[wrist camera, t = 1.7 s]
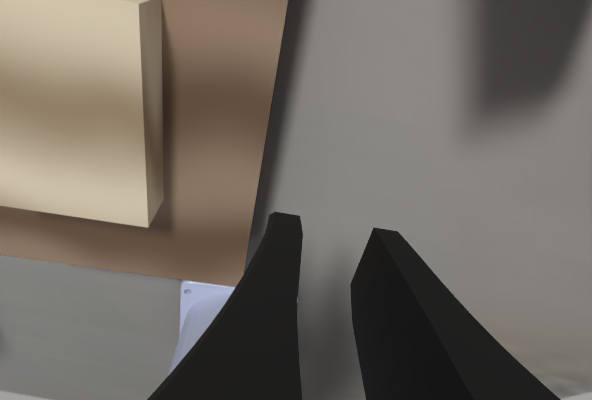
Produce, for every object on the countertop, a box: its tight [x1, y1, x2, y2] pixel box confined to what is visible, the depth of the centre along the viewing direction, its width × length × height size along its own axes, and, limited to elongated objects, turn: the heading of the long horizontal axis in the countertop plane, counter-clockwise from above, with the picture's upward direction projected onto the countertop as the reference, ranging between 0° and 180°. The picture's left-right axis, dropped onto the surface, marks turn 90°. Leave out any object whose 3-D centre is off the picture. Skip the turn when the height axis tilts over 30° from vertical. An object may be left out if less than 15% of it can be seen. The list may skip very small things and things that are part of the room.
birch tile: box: [0, 0, 164, 228], centre depth 13 cm, size 8×6×2 cm
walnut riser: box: [0, 0, 288, 287], centre depth 15 cm, size 18×12×4 cm, turn 169°
